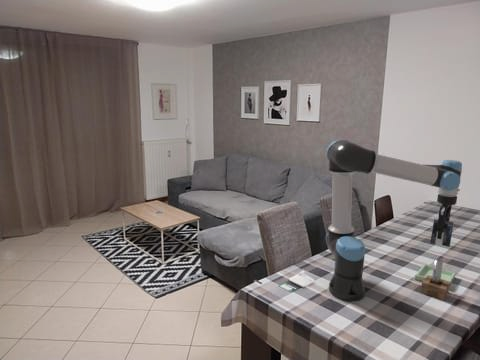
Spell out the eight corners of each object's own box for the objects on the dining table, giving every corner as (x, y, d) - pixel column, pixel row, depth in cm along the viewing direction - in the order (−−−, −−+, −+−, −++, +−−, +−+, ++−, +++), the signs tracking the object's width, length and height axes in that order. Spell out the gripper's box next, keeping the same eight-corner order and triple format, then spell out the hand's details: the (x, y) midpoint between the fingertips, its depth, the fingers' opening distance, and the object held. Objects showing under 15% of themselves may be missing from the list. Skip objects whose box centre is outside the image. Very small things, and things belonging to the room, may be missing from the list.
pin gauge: (437, 295, 150) (442, 263, 147) (429, 292, 152) (433, 260, 149) (439, 292, 152) (443, 260, 149) (431, 289, 154) (435, 258, 151)
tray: (447, 290, 154) (448, 284, 154) (414, 279, 163) (415, 274, 162) (454, 277, 166) (455, 272, 165) (423, 268, 174) (424, 263, 174)
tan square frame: (443, 300, 146) (445, 289, 145) (420, 292, 152) (422, 282, 151) (448, 292, 153) (450, 281, 151) (426, 285, 158) (427, 275, 157)
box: (430, 243, 160) (433, 221, 158) (430, 239, 165) (433, 218, 163) (449, 247, 156) (453, 225, 154) (449, 243, 161) (453, 221, 159)
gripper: (452, 200, 146) (444, 251, 151) (461, 192, 160) (453, 239, 165) (433, 197, 151) (426, 246, 156) (443, 189, 165) (436, 235, 170)
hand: (440, 242), depth 160 cm, fingers closed on box, 6 cm apart
